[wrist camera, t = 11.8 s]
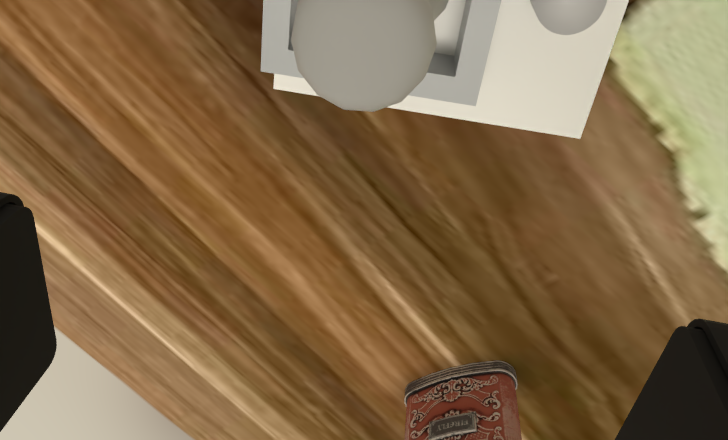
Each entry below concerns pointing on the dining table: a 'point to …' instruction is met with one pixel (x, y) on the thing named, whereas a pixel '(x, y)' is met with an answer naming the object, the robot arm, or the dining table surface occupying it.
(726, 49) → the dining table surface
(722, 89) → the dining table surface
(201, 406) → the dining table surface
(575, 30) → the housing
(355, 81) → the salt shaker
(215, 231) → the dining table surface
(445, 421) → the lighter
